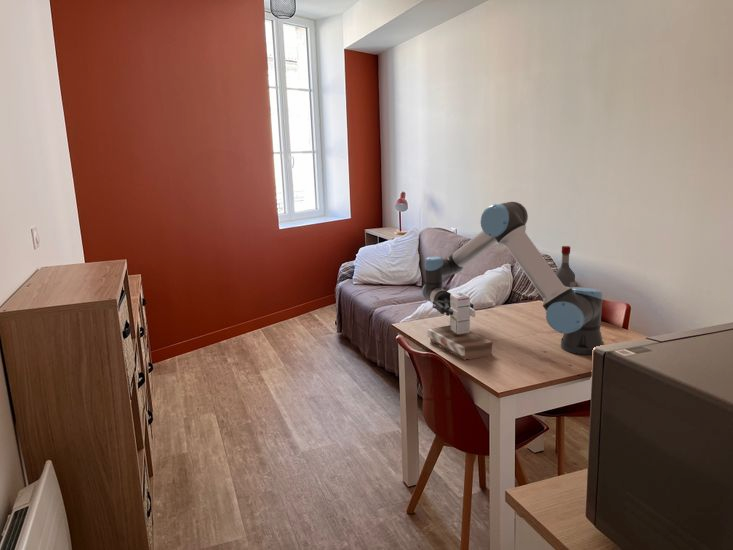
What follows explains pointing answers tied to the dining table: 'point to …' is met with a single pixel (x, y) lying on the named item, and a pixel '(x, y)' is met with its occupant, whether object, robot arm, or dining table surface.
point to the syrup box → (460, 313)
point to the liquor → (566, 269)
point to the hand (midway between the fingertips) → (465, 314)
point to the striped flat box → (461, 343)
